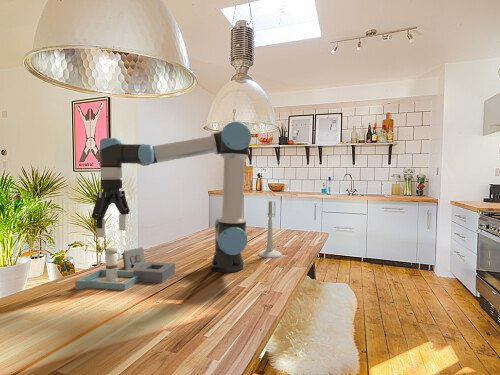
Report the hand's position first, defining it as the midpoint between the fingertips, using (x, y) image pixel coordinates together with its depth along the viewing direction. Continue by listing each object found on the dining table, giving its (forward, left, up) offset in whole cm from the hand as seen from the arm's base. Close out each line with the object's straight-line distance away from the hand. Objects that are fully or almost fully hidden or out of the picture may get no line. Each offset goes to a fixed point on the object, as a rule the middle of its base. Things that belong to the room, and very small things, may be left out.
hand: (112, 233), depth 111 cm
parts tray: (0, 0, -20) cm, 20 cm away
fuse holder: (-14, -8, -20) cm, 25 cm away
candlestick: (-58, -54, -20) cm, 81 cm away
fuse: (0, 0, -19) cm, 19 cm away
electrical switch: (+2, -19, -20) cm, 28 cm away
